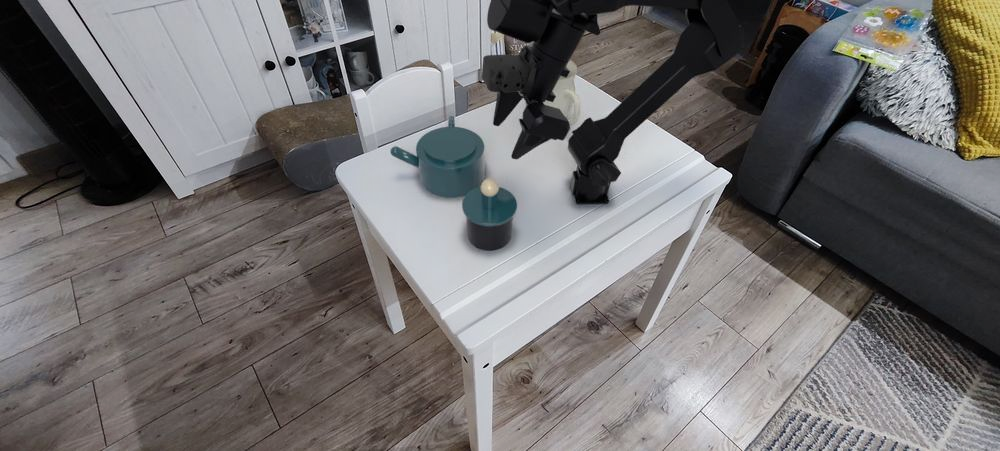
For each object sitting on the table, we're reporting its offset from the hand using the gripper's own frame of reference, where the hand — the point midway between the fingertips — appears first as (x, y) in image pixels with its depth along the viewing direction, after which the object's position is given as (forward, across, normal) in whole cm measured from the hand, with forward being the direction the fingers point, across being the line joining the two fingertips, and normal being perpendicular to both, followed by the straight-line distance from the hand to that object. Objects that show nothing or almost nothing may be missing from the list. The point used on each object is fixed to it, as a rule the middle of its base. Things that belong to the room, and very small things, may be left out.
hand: (504, 141), depth 73 cm
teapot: (+18, -15, 0) cm, 24 cm away
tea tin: (+17, +4, +4) cm, 17 cm away
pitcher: (+6, -24, +25) cm, 35 cm away
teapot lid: (+10, +4, +1) cm, 11 cm away
